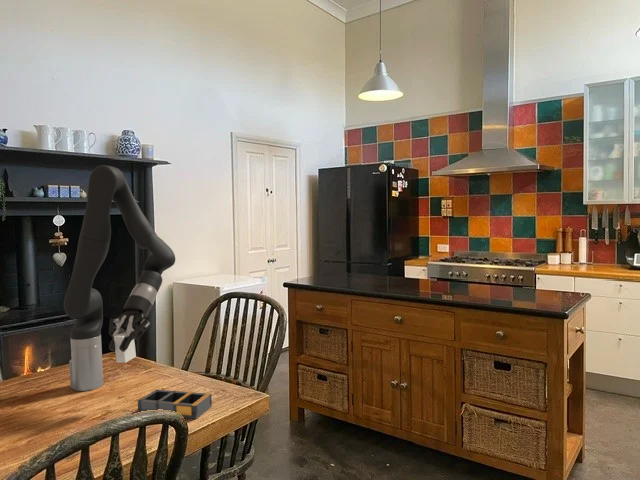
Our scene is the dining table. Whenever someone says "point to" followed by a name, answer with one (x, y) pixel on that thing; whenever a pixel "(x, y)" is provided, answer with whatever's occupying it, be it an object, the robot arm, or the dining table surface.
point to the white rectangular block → (129, 353)
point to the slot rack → (177, 402)
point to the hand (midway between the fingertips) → (116, 349)
